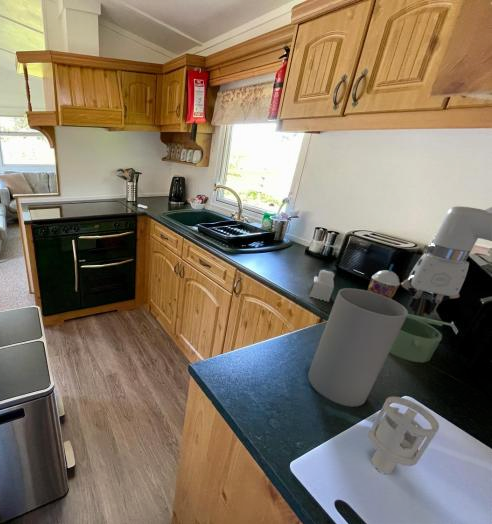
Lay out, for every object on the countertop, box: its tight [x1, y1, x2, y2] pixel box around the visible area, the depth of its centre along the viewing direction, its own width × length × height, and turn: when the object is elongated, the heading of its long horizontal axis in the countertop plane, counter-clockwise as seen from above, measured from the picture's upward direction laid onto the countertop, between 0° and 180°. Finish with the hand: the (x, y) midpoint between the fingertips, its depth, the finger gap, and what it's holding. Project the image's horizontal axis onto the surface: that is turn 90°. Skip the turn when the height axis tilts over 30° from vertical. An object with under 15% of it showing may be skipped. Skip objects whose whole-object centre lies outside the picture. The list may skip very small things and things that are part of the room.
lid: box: [406, 296, 454, 327], centre depth 85 cm, size 15×15×7 cm
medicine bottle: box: [308, 267, 337, 303], centre depth 119 cm, size 7×7×12 cm
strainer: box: [368, 396, 440, 475], centre depth 52 cm, size 7×7×15 cm
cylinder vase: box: [307, 287, 409, 408], centre depth 68 cm, size 12×12×25 cm
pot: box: [389, 318, 443, 363], centre depth 89 cm, size 14×19×8 cm
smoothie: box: [366, 263, 401, 300], centre depth 108 cm, size 8×8×20 cm
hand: (418, 310), depth 85 cm, fingers closed on lid, 2 cm apart
